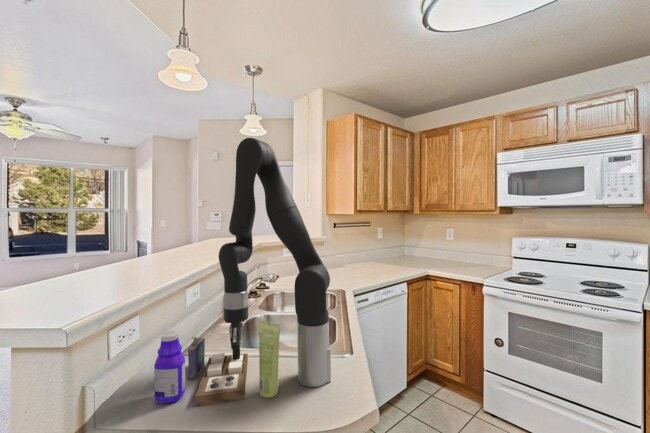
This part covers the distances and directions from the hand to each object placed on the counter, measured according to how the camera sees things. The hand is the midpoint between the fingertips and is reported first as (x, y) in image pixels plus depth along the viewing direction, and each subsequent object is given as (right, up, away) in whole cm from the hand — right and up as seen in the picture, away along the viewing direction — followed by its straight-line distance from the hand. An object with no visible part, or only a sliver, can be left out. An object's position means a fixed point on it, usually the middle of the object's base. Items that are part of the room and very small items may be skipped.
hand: (236, 358), depth 92 cm
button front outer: (-4, -1, -7) cm, 9 cm away
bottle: (-13, -3, -15) cm, 20 cm away
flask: (-12, -3, -2) cm, 12 cm away
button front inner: (+2, -1, -6) cm, 7 cm away
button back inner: (0, -3, 0) cm, 3 cm away
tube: (+13, -3, -13) cm, 19 cm away
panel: (-1, -3, -7) cm, 8 cm away
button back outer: (-5, -1, -1) cm, 6 cm away
